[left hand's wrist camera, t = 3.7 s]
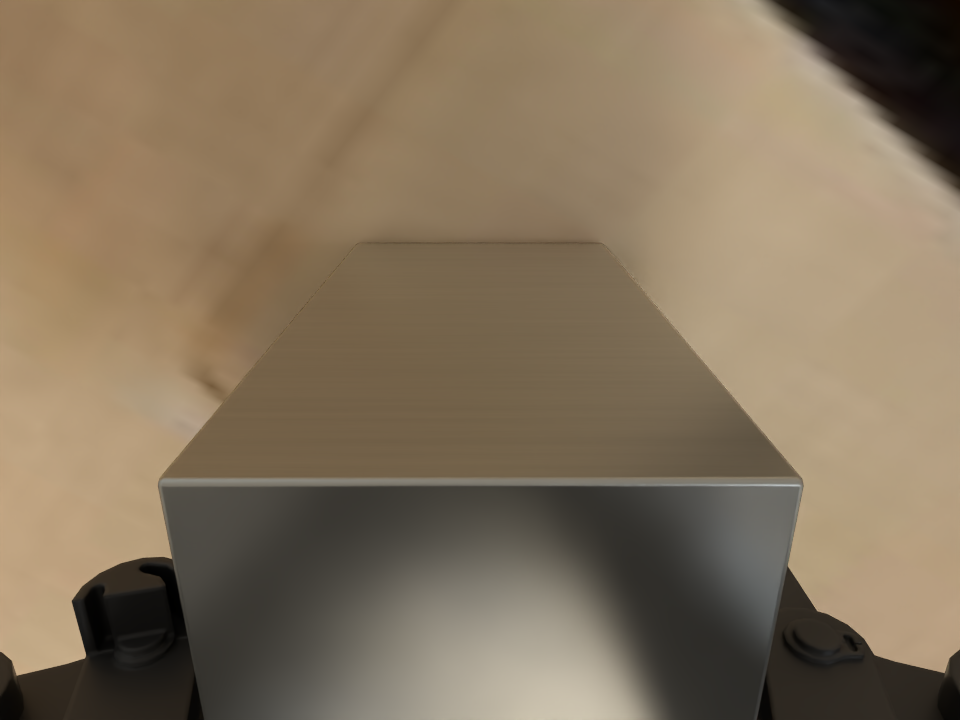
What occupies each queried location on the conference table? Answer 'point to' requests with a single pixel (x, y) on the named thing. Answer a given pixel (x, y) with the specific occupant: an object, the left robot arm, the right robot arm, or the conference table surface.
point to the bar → (480, 504)
